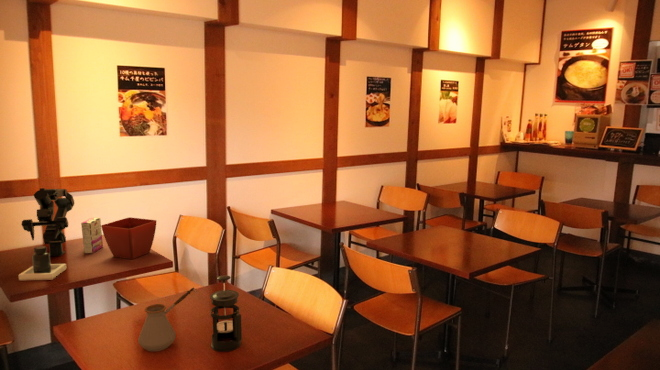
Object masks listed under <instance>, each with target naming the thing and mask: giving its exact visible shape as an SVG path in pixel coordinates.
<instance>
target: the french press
mask: <svg viewBox="0 0 660 370" xmlns="http://www.w3.org/2000/svg"><path fill="white" fill-rule="evenodd" d="M231 278H232V277H231V275H227V274H225V275H224V274H223V275H220V276H218V277H217V278H216V279H217V280H218V281H221V282H222V283H223V289H220V290H217V291H214V292H212V293H211V294H210V296H209V298H210V300H211V304H212V305H213V307H212V308H211V309H210V316H211V318H212V326H211V329H212V332H213V333H212V334H211V344H210V345H211V346H210V347H211V349H212V350H214V351H216V352H221V353H226V352H232V351H234V350H237V349H238V348H239V347H241V345H242V341H243V335H242V334H243V333H242V330H243V329H242V314H241V313H240V307H239V306H238V305H237V303H238V301H239V300H238V299H239V296H240V293H239V292H238V291H236V290H233V289H226V281H228V280H230V279H231ZM220 309H223V310H224V314H223V315H221V314H220V315H219V310H220ZM226 309H232V311H233V312H232V313H230V314H227V313H226V311H227V310H226ZM230 319H231V320H230ZM222 340H226V341H222Z"/></svg>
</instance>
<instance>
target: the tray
mask: <svg viewBox="0 0 660 370" xmlns="http://www.w3.org/2000/svg"><path fill="white" fill-rule="evenodd" d="M67 269H68V268H67V263H51V272H50V273H34V270H33V265H32V266H30V267H29V268H27V269H25V270H24V271H22V272H21V273H19V274H18V281H44V280H45V281H47V280H51V281H52V280H54V279H56V278H57V277H58V276H60V273H61V274H62V273H63V272H64V271H66V270H67ZM56 276H57V277H56Z"/></svg>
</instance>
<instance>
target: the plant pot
mask: <svg viewBox="0 0 660 370" xmlns="http://www.w3.org/2000/svg"><path fill="white" fill-rule="evenodd" d="M156 229H157V220H156V219H146V218H139V217H124V218H122V219H118V220H115V221H112V222H108V223H105V224H101V232H102V233H103V234H102V235H103V236H104V239H105V241H106V244H107V247H108V249H109V250H110V252H111V254H112V255H113V257H117V258H123V259H126V260H127V259H129V260H133V259H136V258H139V257H141V256H144V255H147V254H149V253H151V249H152V246H153V243H154V239H155V236H156V235H155V234H156Z"/></svg>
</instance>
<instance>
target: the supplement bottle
mask: <svg viewBox="0 0 660 370" xmlns="http://www.w3.org/2000/svg"><path fill="white" fill-rule="evenodd" d="M33 252H34V253H33V255H32V256H31V257H32V266H33V270H34V273H50V272H51V264H52V263H51V256H50V252H48V249H47V246H44V245H42V246H41V245H40V246H36V247H34V248H33Z"/></svg>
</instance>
